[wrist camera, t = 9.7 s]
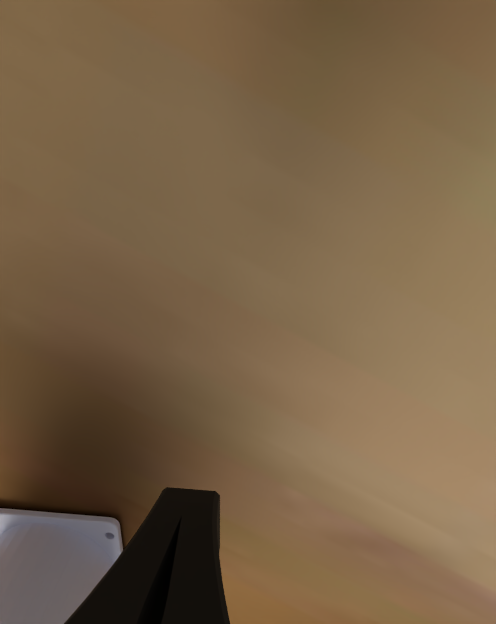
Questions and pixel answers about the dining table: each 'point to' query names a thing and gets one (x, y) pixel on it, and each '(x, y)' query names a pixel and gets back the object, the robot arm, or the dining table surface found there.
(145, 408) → the dining table surface
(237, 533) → the dining table surface
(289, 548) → the dining table surface
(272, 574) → the dining table surface
